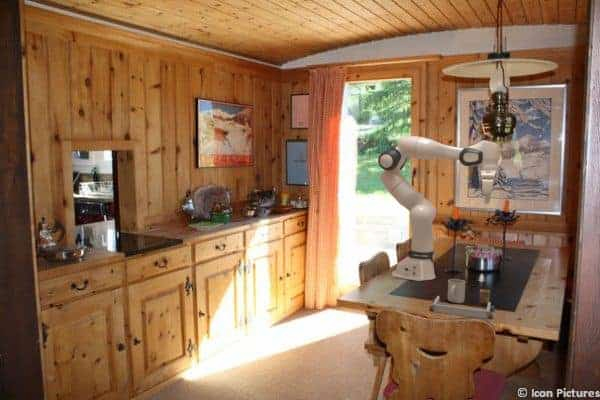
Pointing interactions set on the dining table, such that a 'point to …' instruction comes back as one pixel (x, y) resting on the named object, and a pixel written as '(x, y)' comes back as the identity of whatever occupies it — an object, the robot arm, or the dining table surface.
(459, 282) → the cup
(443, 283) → the dining table surface
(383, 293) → the dining table surface
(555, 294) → the dining table surface
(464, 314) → the cart frame
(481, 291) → the walnut block
